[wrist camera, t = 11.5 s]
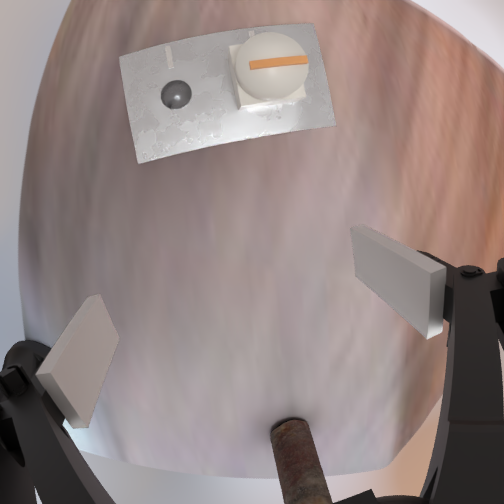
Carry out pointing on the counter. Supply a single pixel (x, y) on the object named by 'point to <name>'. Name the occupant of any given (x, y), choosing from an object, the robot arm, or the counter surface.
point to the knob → (268, 70)
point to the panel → (212, 94)
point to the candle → (299, 465)
